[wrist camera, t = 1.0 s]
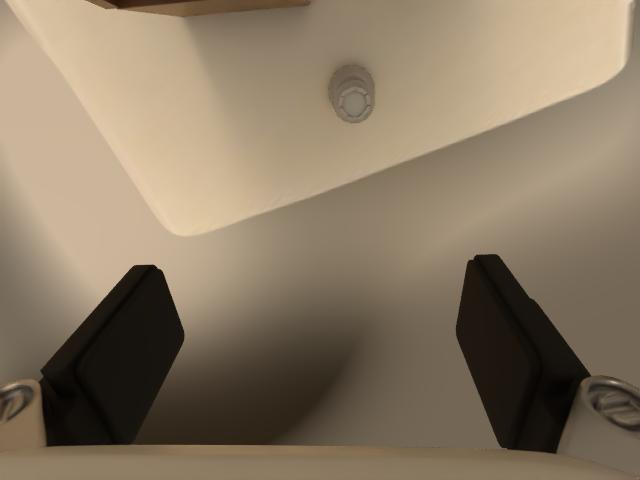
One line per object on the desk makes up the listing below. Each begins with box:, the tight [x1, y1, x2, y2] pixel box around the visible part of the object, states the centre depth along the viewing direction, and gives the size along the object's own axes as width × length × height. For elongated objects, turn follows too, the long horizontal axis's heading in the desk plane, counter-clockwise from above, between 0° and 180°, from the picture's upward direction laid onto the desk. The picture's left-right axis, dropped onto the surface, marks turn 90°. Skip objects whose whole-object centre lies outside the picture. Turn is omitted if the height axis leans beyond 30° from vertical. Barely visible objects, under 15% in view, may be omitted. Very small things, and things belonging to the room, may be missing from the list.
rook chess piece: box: [328, 65, 375, 123], centre depth 30 cm, size 4×4×8 cm
